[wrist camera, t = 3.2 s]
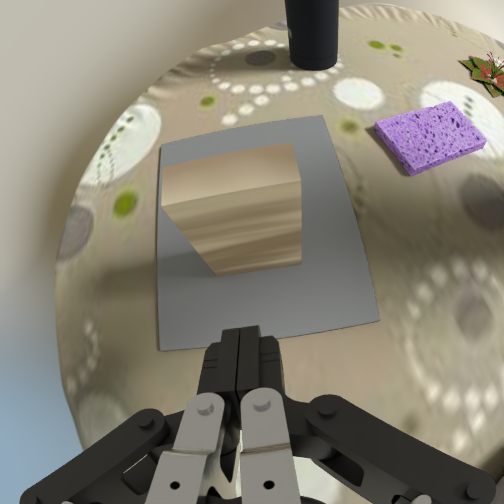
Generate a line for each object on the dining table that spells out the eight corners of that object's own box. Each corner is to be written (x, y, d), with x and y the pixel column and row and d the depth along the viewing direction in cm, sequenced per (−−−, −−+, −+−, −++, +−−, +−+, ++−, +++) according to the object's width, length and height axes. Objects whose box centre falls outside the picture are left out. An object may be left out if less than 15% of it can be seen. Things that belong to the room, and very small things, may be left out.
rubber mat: (379, 320, 24) (380, 320, 23) (162, 351, 25) (160, 350, 25) (322, 117, 32) (322, 115, 32) (162, 146, 34) (161, 144, 33)
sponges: (482, 150, 28) (487, 140, 27) (408, 180, 28) (413, 169, 27) (447, 110, 31) (451, 99, 30) (371, 132, 31) (374, 120, 29)
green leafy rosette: (532, 104, 30) (542, 86, 26) (492, 108, 31) (503, 86, 26) (488, 58, 35) (495, 39, 31) (445, 57, 35) (451, 35, 31)
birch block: (301, 264, 26) (300, 180, 15) (217, 277, 26) (161, 206, 15) (295, 233, 27) (290, 138, 16) (215, 246, 28) (163, 163, 16)
